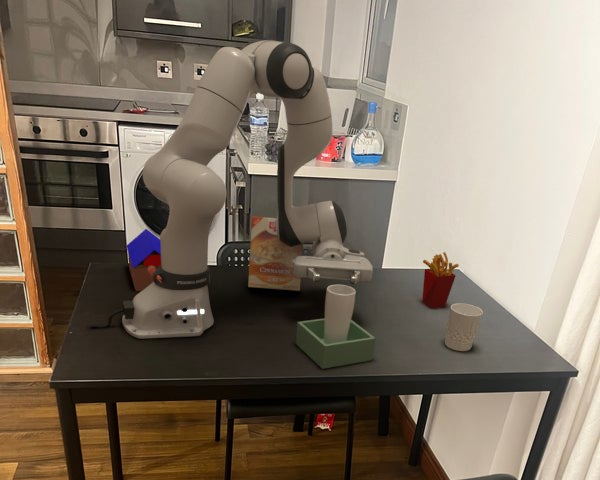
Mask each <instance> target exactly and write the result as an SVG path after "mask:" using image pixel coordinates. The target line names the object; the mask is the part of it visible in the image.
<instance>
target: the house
mask: <svg viewBox="0 0 600 480" xmlns="http://www.w3.org/2000/svg"><path fill="white" fill-rule="evenodd" d="M126 249H127V257H128V268H129V272H130V277H131V279H132V284H133V287H134V290H135V292H141V291H142V290H144V289H145V288H146V287H148V286H149V285H150V284H151V283H153V282H154V279H153V276H152V275H150V274H149V272H148V270H147V269H148V268H149V266H154V267H155V268H156V269H158V268H159V267H160V266H161V247H160V237H157V236H156V235H155V234H154V233H153V232H152V231H150V230H149V229H147V228H145V229H144V230H143V231H142V232H140V233H139V234H138V235H137V236H135V238H133V239H132V240H131V241H130V242H129V243H128V244H126Z"/></svg>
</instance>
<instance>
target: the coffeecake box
mask: <svg viewBox="0 0 600 480" xmlns="http://www.w3.org/2000/svg"><path fill="white" fill-rule="evenodd" d="M276 219H277V217H276V218H275V217H263V216H254V215H253V216H251V231H250V247H249V265H248V281H247V283H248V284H247V287H248V288H255V289H267V290H268V289H270V290H281V291H285V290H286V291H296V292H300V291H301V282H302V277H296V276H294V275H293V273H294V265H292V260H293V259H296V257H298V256H304V255H303V254H304V243H302V244H301V245H297V246H293V247H290V246H287V245H286V244H284V243H282V242H281V241H280V240H279V238H278V235H277V231H276Z"/></svg>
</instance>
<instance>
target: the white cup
mask: <svg viewBox="0 0 600 480" xmlns="http://www.w3.org/2000/svg"><path fill="white" fill-rule="evenodd" d="M449 309H450V310H449V314H448V320H447V325H446V332H445V333H446V335H445V338H444V344H445V346H446V347H447V348H448V349H451V350H453V351H456V352H457V351H458V352H468V351H470V350H471V349H472V348H473V344H474V341H475V338H476V335H477V333H478V330H479V327H480V323H481V320H482V317H483V314H484V311H483V310H482V309H481V308H480V307H478V306H476V305H473V304H469V303H463V302H457V303H453V304H451V305H450V308H449Z"/></svg>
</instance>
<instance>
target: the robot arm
mask: <svg viewBox="0 0 600 480" xmlns="http://www.w3.org/2000/svg"><path fill="white" fill-rule="evenodd" d="M326 84H327V83H326V81H325V78H324V75H323V73H322V72H321V71H320V70H319V69H318V68H317V67H315V66H313V64H312V61H311V59H310V56H309V54H308V53H307V52H306V50H304V48H302V47H300V46H299V45H297V44H295V43H292V42H289V41H288V42H287V41H286V42H283V41H277V40H274V39H266V40H253V41H249V42H247V43H245V44H244V45H242V46H241V47H240V48H237V47H234V46H224V47H221V48H219V49H218V50H217V51H216V52H215V54H213V57H212V58H211V60H210V61H209V63H208V64H207V66H206V68H205V70H204V71H203V73H202V75H201V77H200V79H199V81H198V83H197V85H196V88H195V89H194V93H193V95H192V97H191V99H190V101H189V104H188V106H187V109H186V110H185V112H184V114H183V117H182V119H181V120H180V123H179V124H178V126H177V127H176V129H175V130H174V131H173V133H172V134H171V136H170V137H169V139H168V140H167V141H166V142H165V144H164V145H163V146H162V147H161V148H160V150H159V151H157V152H156V153H154V154H153V155H150V157H148V158H147V160H146V161H145V163H144V165H143V168H142V180H143V183H144V186H145V187H146V188H147V189H148V191H149V192H150V193H151V194H152V196H154V197H155V198H156V199H157V200H159V201H161V202H163V203H165V204H167V205H168V207H169V208H168V209H169V214H168V219H167V224H166V226H165V228H163V230H162V231H161V233H160V236H159V239H160V247H161V266H160V267H159V268H158V269H156V268H155V267H154V266H149V268H148V269H147V270H148V272H149V274H150V275H152V276H153V279H154V282H153V283H151V284H150V285H149V286H148V287H146V288H145V289H144V290H142V291H139V292H138V293H137V294H136V295H134V297H133V298H132V300H131V299H130V300H122V308H120V309H118V310H115V311H114V312H112V313H111V314H110V315H109V317H108V320H107V323H106V324H90V328H91V329H92V328H95V329H106V328H108V327H110V326H111V324H112V320H113V318H114V316H116V315H118V314H121V313H123V315H122V319H121V324H122V327H123V329H124V330H125V332H127V334H129V335H130V336H131V337H134V338H136V339H143V340H144V339H162V338H163V339H164V338H183V337H184V338H186V337H200V336H202V334H203V333H204V331H206V330H207V329H209V328H210V327H212V326H213V325H214V323H215V319H214V316H213V313H212V308H211V302H210V295H209V293H210V292H209V290H210V283H211V275H210V274H211V273H210V267H209V265H208V263H209V262H208V261H209V260H208V259H209V258H208V255H209V235H210V231H211V227H212V224H213V220H214V218H215V216H216V215H217V214H218V213H220V212H221V211H222V209H223V207H224V206H225V203H226V199H227V187H226V184H225V182H224V180H223V179H222V177H221V176H220V175H218V173H217V172H215V171H214V170H213V169H211V168H210V166H208V165H209V164H210V163H211V161H212V160H213V159H214V158H215V157H216V156H217V155H218V154H220V153H222V152H223V151H225V150H226V149H227V148H228V147H229V145H230V143H231V141H232V138H233V136H234V134H235V132H236V129H237V127H238V125H239V122H240V120H241V118H242V116H243V114H244V111H245V109H246V107H247V104H248V102H249V100H250V98H251V97H252V96H253V95H254V94H260V95H263V96H265V97H268V98H269V97H270V98H280V99H281V101H282V103H283V106H284V111H285V112H284V113H285V120H286V126H287V131H286V132H287V133H286V137H285V140H284V142H283V143H282V144H281V145H279V148H278V151H277V170H276V172H277V174H276V176H277V178H276V181H277V183H276V185H277V186H276V187H277V188H276V189H277V190H276V191H277V214H276V218H277V219H276V231H277V235H278V238H279V240H280V241H281V242H282V243H284V244H286V245H287V246H290V247H293V246H297V245H301V244H302V243H303V244H306V243H308V244H309V243H312V247H311V253H312V254H311V255H312V256H311V255H303V256H298V257H296V259H293V260H292V265H294V273H293V275H294V276H296V277H301V279H302V278H304V279H311V280H312V282H319V281H320V280H328V281H329V280H332V281H347V282H350V284H351V285H357V284H358V282H360V283H369V282H371V281H372V279H373V275H374V267H373V265H372V263H371V262H370V260H369V259H367V258H366V257H365V253H364V252H363V251H359V250H354V249H350V248H347V247H345V246H344V244H343V243H344V242H345V240H346V238H347V236H348V230H347V229H348V228H347V223H346V218H345V214H344V211H343V209H342V207H341V206H340V205H339V204H338V203H337V202H336V201H334V200H326V201H325V200H324V201H321V202H315V203H312V204H311V203H310V204H305V205H301V206H295V205H293V182H294V181H293V179H294V177H295V175H296V173H297V172H298V171H299V169H301V168H302V167H303V166H305V165H307V163H310V162H312V161H313V160H315V159H316V158H317V157H319V156H320V155H321V154H323V153H324V151H325V150H326V149H327V148H328V147H329V145H330V144H331V142H332V138H333V134H334V132H333V131H334V129H333V128H334V127H333V115H332V108H331V101H330V97H329V92H328V88H327V85H326Z"/></svg>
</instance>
